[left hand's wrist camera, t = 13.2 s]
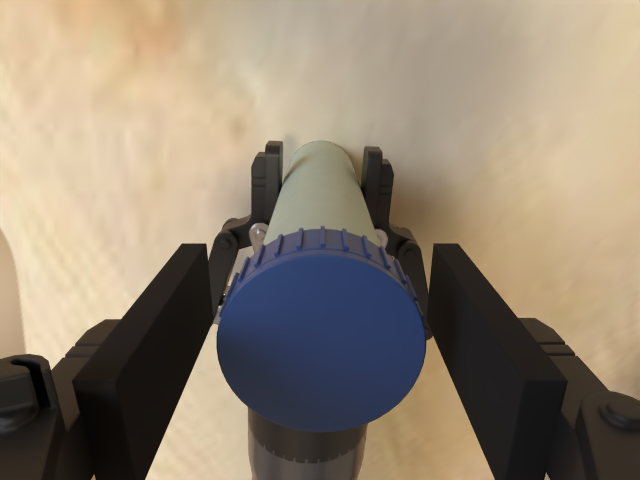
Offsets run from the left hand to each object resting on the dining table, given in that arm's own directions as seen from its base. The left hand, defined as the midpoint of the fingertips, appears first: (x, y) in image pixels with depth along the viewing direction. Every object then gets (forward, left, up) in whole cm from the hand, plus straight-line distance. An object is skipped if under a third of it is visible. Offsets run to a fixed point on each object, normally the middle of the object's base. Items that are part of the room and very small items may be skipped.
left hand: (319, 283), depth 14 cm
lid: (0, 0, +3) cm, 3 cm away
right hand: (-1, -3, -9) cm, 10 cm away
